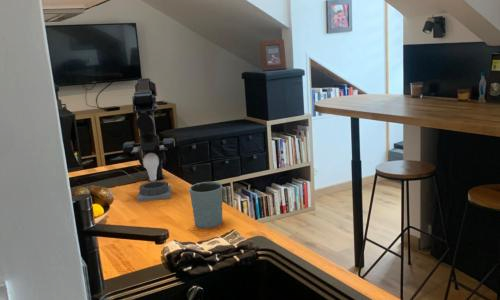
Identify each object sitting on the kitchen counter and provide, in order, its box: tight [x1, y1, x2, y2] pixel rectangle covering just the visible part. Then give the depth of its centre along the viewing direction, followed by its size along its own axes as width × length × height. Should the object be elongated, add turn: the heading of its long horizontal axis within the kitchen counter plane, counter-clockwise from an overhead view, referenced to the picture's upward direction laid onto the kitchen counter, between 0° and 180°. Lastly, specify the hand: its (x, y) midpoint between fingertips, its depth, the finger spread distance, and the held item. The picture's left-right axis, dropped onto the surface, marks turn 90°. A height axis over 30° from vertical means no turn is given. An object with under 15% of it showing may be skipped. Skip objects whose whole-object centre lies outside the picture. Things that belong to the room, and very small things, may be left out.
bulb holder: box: [136, 180, 173, 203], centre depth 180 cm, size 12×12×4 cm
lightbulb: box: [142, 153, 159, 182], centre depth 178 cm, size 6×6×11 cm
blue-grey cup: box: [189, 181, 223, 229], centre depth 146 cm, size 10×10×12 cm
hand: (151, 167), depth 178 cm, fingers closed on lightbulb, 6 cm apart
